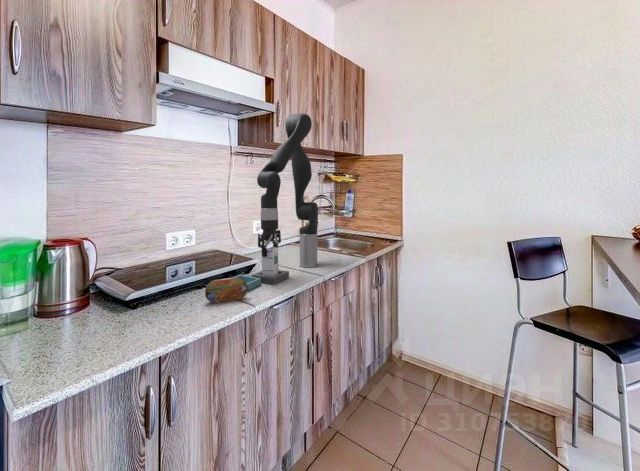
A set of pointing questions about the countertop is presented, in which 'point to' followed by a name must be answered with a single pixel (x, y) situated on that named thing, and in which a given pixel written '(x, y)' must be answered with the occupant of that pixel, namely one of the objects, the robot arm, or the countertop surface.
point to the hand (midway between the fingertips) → (270, 254)
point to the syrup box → (270, 262)
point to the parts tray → (250, 281)
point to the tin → (226, 290)
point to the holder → (272, 280)
